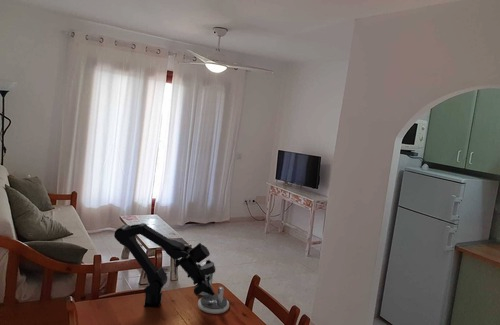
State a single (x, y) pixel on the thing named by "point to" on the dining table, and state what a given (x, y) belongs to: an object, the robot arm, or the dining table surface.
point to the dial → (214, 300)
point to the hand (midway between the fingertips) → (213, 294)
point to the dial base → (212, 311)
